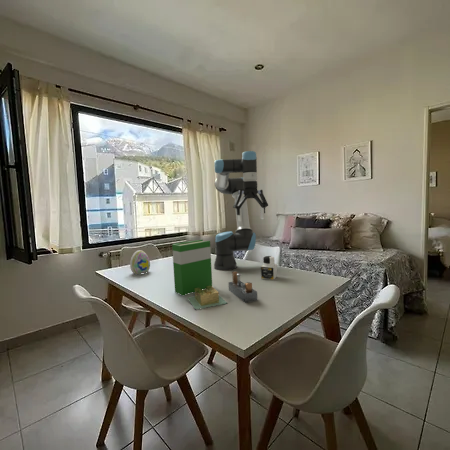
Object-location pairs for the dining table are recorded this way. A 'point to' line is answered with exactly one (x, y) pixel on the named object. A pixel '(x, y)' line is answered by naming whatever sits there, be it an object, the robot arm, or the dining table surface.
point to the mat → (198, 306)
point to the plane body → (242, 289)
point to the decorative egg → (140, 262)
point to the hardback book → (192, 266)
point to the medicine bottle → (268, 268)
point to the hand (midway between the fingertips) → (251, 220)
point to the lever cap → (206, 295)
